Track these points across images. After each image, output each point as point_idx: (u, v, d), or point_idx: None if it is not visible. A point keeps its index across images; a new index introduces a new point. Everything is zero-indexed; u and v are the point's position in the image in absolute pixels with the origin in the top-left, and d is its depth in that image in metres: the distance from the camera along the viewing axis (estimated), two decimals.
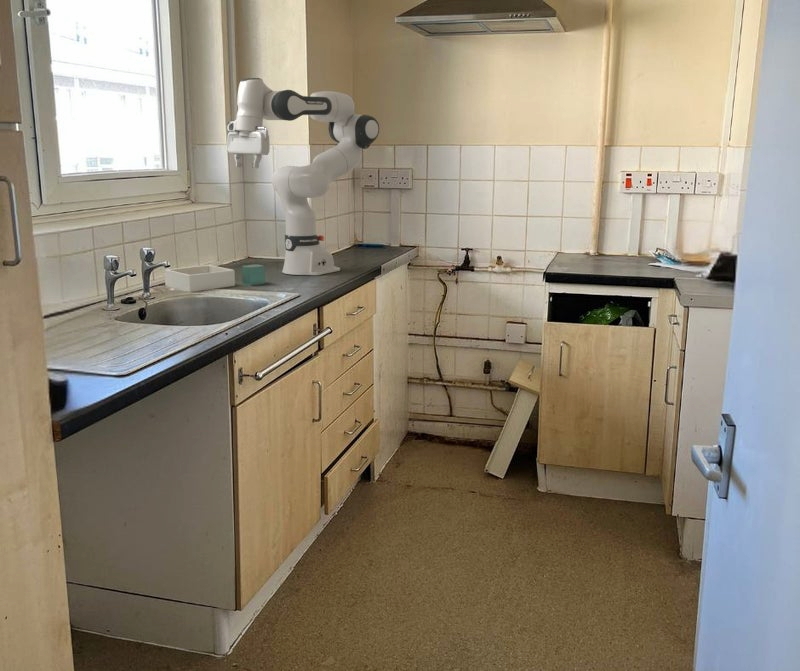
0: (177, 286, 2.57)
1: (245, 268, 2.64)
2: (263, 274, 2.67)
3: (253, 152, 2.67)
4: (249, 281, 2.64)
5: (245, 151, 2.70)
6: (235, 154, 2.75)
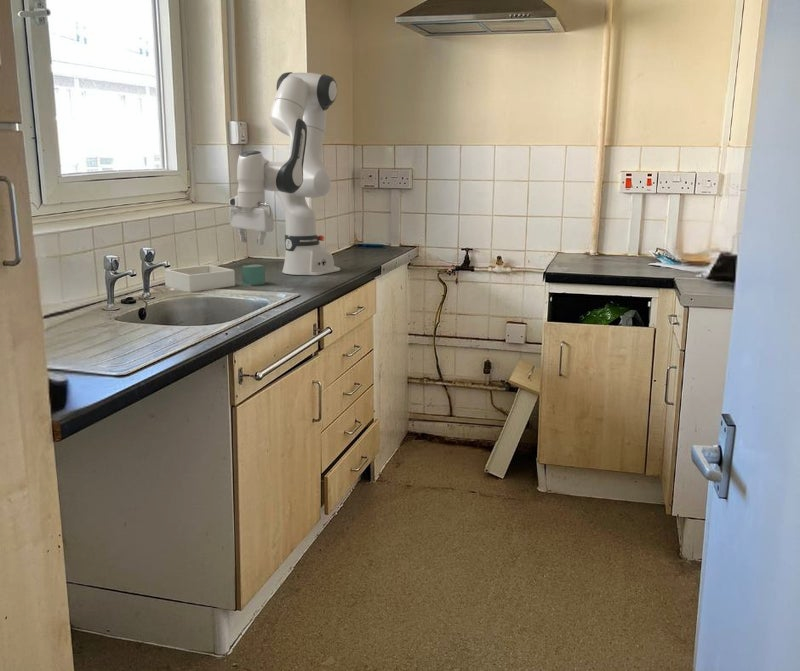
0: (177, 286, 2.57)
1: (245, 268, 2.64)
2: (263, 274, 2.67)
3: (257, 229, 2.58)
4: (249, 281, 2.64)
5: (249, 227, 2.61)
6: (238, 229, 2.66)
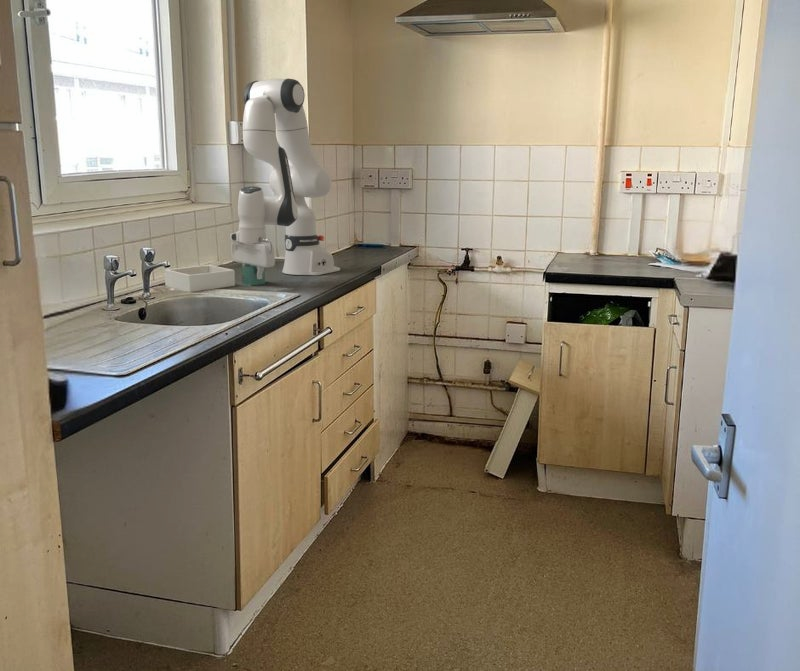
0: (177, 286, 2.57)
1: (245, 267, 2.64)
2: (263, 274, 2.67)
3: (258, 265, 2.61)
4: (249, 281, 2.64)
5: (250, 262, 2.64)
6: (243, 264, 2.68)
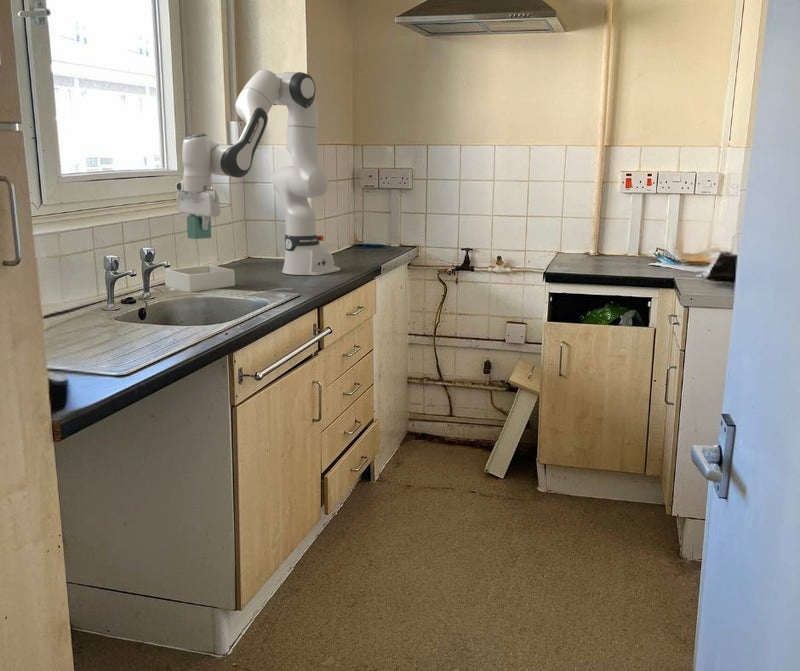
0: (177, 286, 2.57)
1: (190, 218, 2.56)
2: (209, 225, 2.59)
3: (203, 214, 2.52)
4: (194, 231, 2.55)
5: (195, 212, 2.55)
6: (189, 214, 2.60)
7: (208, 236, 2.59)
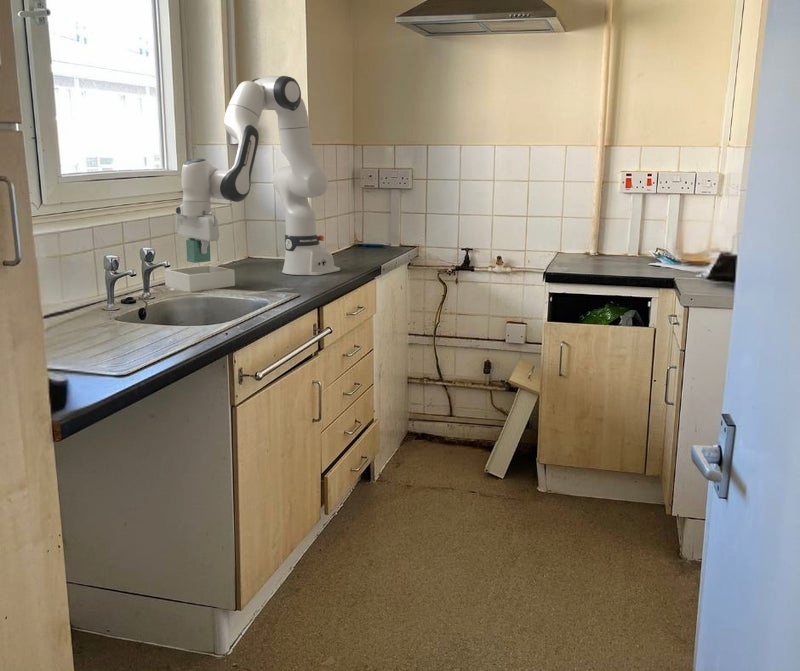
0: (177, 286, 2.57)
1: (189, 241, 2.57)
2: (208, 248, 2.60)
3: (202, 238, 2.54)
4: (193, 255, 2.57)
5: (194, 236, 2.57)
6: (188, 238, 2.61)
7: (207, 259, 2.61)
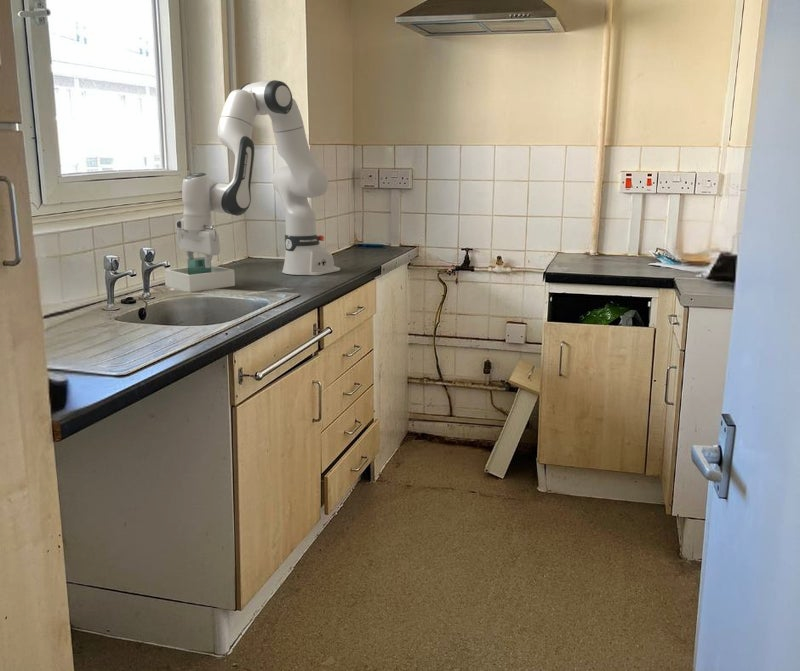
0: (177, 286, 2.57)
1: (191, 260, 2.59)
2: None
3: (203, 252, 2.55)
4: None
5: (195, 250, 2.58)
6: (187, 251, 2.64)
7: None
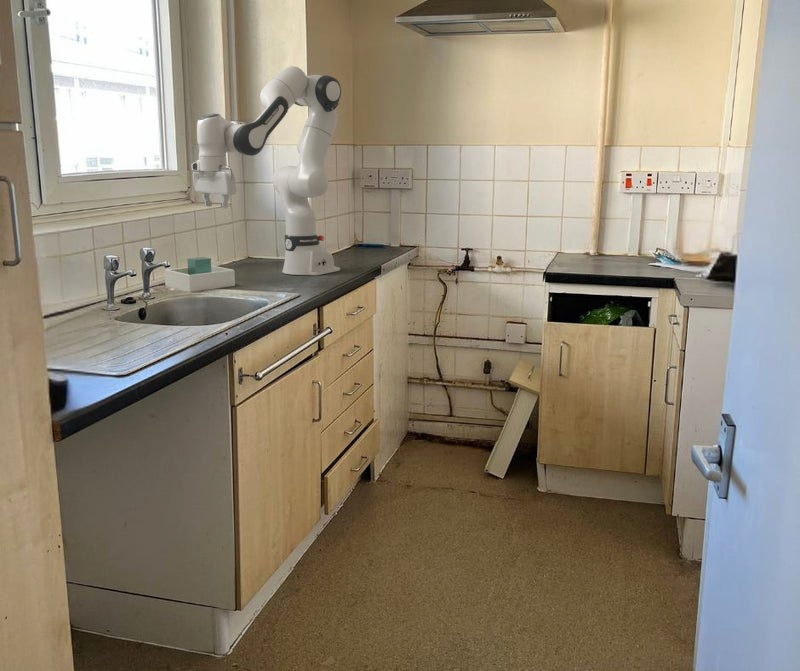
0: (177, 286, 2.57)
1: (191, 260, 2.59)
2: (209, 267, 2.62)
3: (220, 193, 2.59)
4: None
5: (212, 191, 2.62)
6: (203, 193, 2.67)
7: None
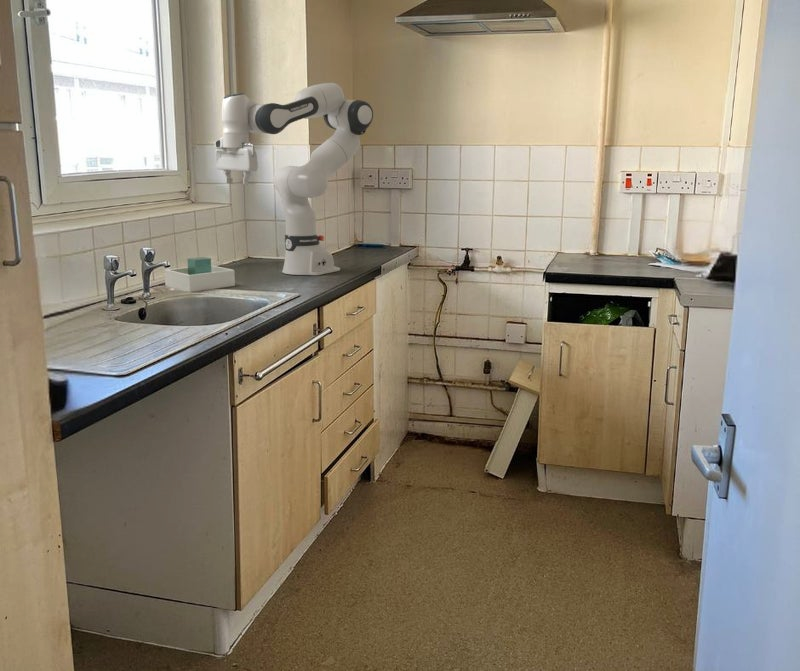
0: (177, 286, 2.57)
1: (191, 260, 2.59)
2: (209, 267, 2.62)
3: (242, 169, 2.67)
4: None
5: (234, 168, 2.70)
6: (224, 170, 2.76)
7: None
